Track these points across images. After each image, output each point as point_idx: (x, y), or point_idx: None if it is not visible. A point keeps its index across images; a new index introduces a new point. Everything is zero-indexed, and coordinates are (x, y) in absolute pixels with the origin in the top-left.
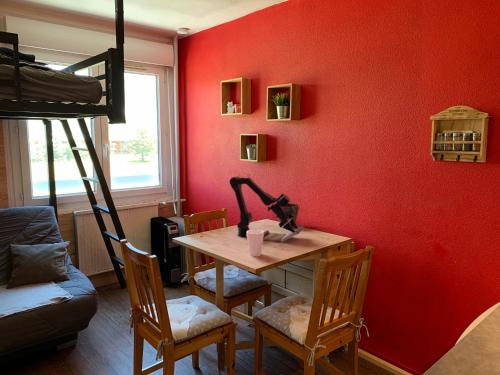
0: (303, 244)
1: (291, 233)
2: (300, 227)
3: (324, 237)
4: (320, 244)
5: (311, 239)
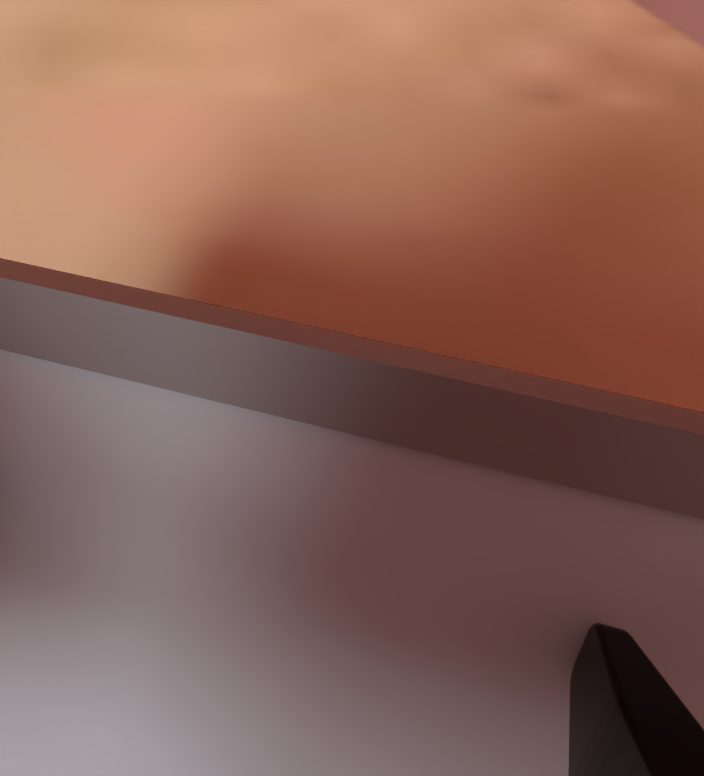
0: None
1: (429, 769)
2: (138, 325)
3: (65, 20)
4: (559, 94)
5: (199, 229)
